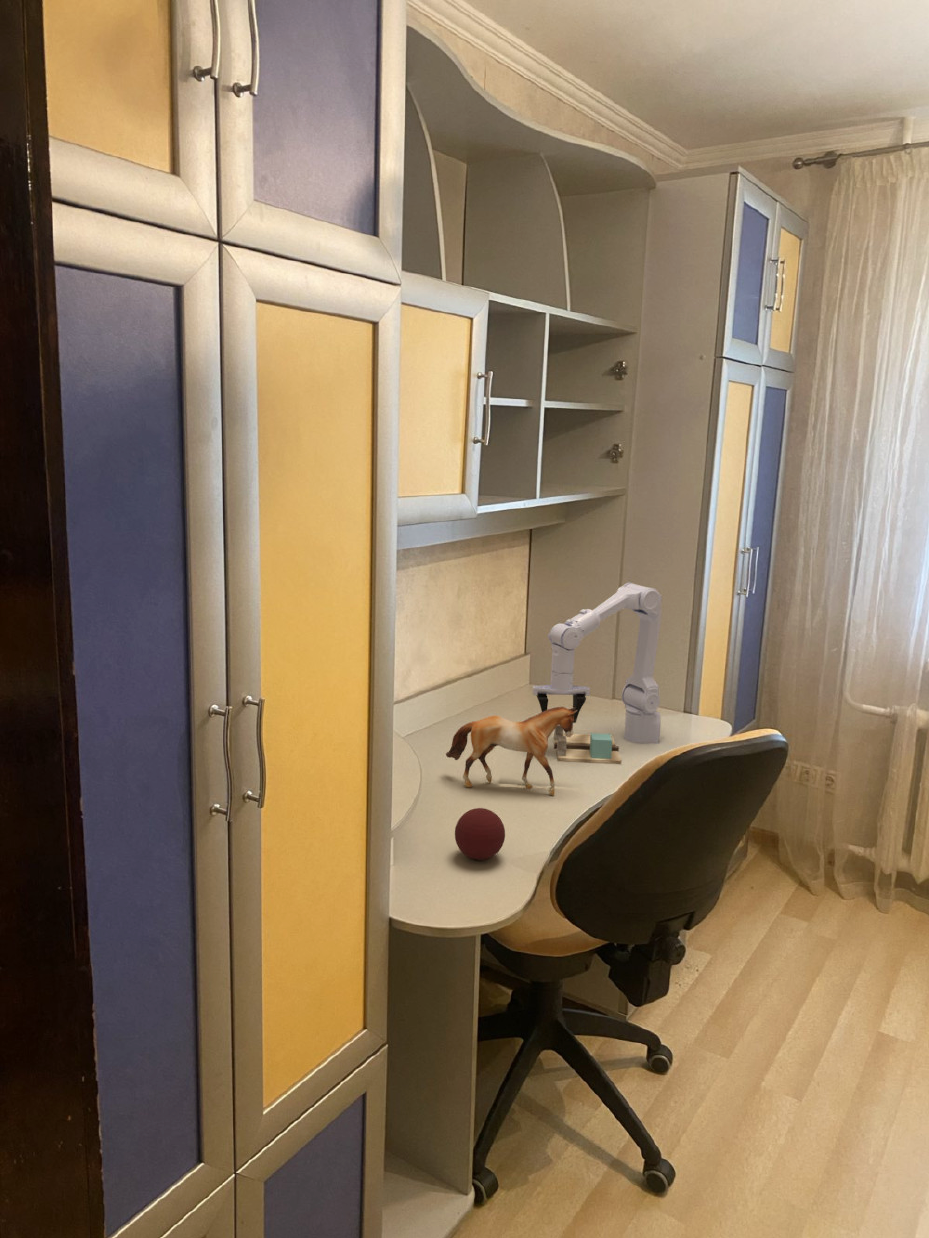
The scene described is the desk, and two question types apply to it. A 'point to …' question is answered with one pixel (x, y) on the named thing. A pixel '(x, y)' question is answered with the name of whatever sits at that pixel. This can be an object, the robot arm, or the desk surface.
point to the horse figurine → (512, 739)
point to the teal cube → (600, 746)
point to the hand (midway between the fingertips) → (559, 721)
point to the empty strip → (574, 737)
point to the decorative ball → (479, 833)
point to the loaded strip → (581, 754)
